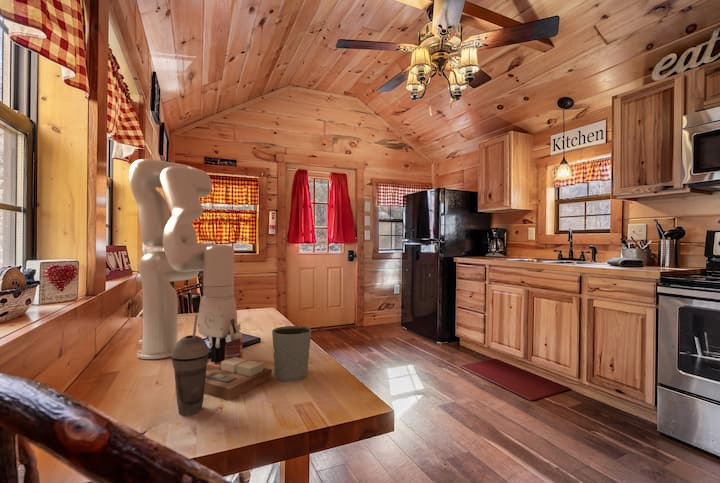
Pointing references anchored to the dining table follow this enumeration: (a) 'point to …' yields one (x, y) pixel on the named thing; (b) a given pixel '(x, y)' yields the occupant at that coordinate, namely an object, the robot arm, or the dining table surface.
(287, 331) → the grey green cup
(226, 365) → the key cream
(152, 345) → the robot arm
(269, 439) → the dining table surface
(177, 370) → the beverage cup
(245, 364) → the key sage
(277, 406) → the dining table surface
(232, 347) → the pill bottle
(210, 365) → the key terracotta
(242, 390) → the keypad board
